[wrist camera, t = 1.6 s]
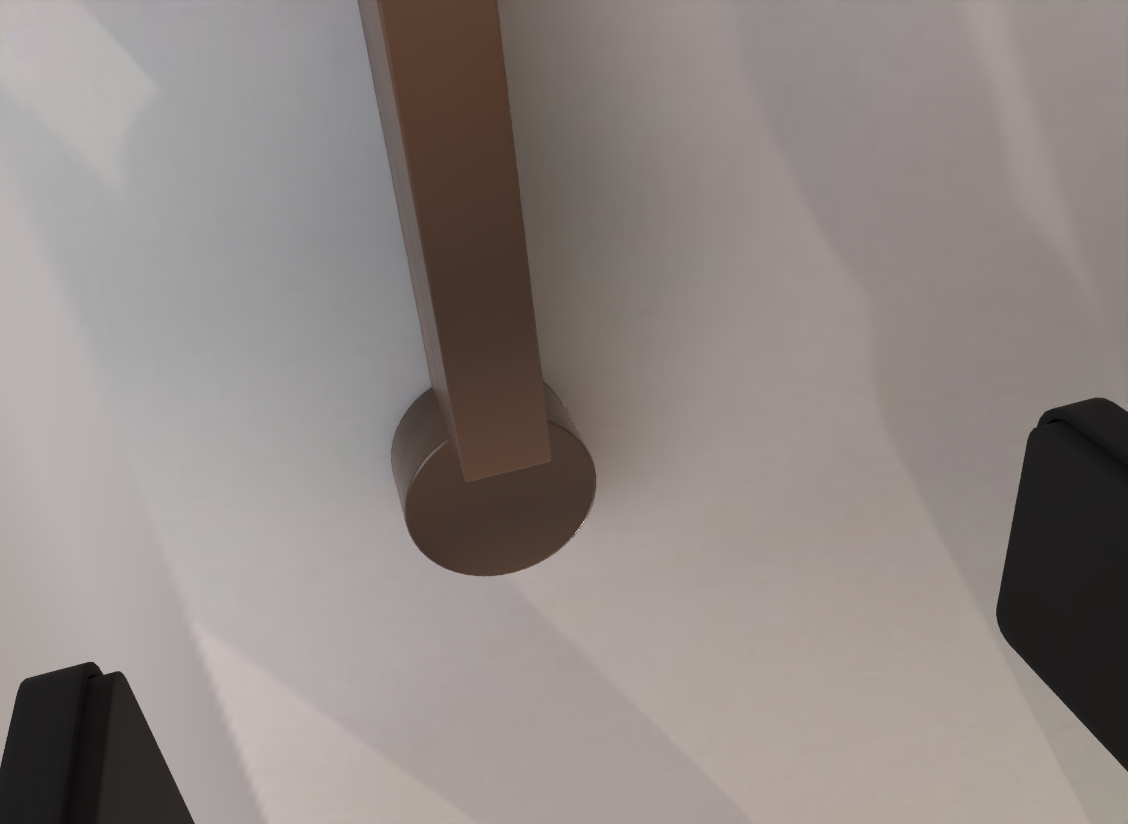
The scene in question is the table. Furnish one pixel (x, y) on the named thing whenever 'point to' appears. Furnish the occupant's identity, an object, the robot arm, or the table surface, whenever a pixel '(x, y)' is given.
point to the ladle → (470, 301)
